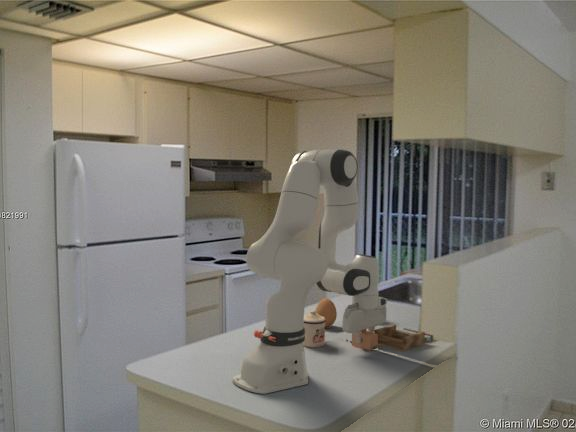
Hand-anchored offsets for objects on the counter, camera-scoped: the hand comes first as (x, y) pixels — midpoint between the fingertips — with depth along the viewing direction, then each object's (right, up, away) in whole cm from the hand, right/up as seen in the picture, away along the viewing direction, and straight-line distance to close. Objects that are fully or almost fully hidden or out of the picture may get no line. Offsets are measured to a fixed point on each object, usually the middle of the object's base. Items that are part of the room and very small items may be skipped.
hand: (363, 340), depth 188 cm
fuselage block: (0, -2, 0) cm, 2 cm away
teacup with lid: (-17, -2, +3) cm, 17 cm away
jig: (+15, -2, +4) cm, 15 cm away
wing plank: (+19, -1, +8) cm, 21 cm away
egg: (-12, 0, +24) cm, 26 cm away
